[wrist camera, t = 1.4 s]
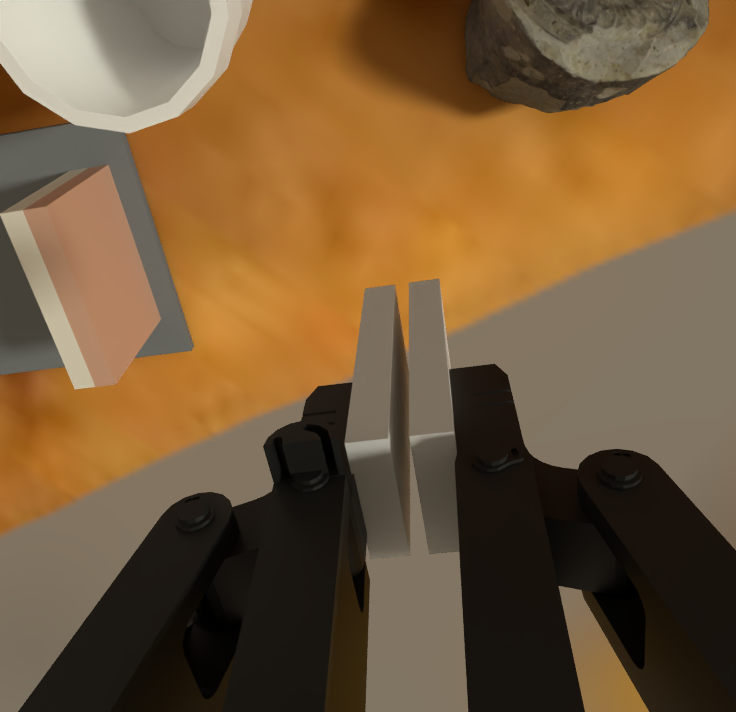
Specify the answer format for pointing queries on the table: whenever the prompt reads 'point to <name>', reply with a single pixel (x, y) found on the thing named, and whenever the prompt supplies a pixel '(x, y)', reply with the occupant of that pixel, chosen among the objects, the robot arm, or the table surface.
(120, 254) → the tile
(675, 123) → the table surface
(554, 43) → the fossil
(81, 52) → the foam cup
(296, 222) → the table surface
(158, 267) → the mat
